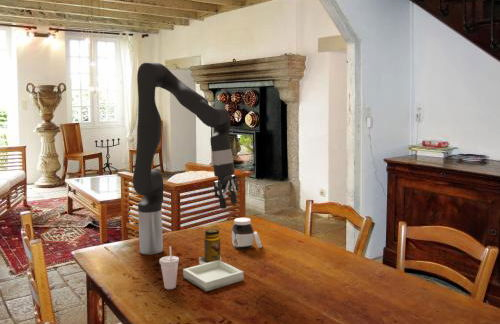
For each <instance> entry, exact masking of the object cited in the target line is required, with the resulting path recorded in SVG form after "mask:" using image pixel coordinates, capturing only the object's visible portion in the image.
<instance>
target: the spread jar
mask: <svg viewBox="0 0 500 324" xmlns="http://www.w3.org/2000/svg"><path fill="white" fill-rule="evenodd" d="M233 220H234V221H233V223H234V224H232V228H231V242H232V245H233V247H234V248H235V249H236V250H249V249H251V248H252V247H253V246H254V242H255V244H256V246H257V248H258V249H261V248H262V246H263V245H262V241H261V239H260V235H259V233H258V231H254V228H253V226H252V224H251V221H252V220H251V218H249V217H237V218H235V219H233Z"/></svg>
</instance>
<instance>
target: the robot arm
mask: <svg viewBox="0 0 500 324" xmlns="http://www.w3.org/2000/svg"><path fill="white" fill-rule="evenodd" d="M136 76H137V77H136V81H137V83H136V84H137V100H138V101H137V102H138V104H137V107H138V108H137V112H138V113H137V126H136V128H137V130H136V153H135V155H136V156H135V162H134V170H133V175H132V177H133V178H132V187H133V189H134V191H135V193H136V194H137V195H139V196H143V197H142V199H141V200H140V201H139V202H138V203H137V215H138V217H137V218H138V239H139V240H138V241H139V253H140V254H142V255H157V254H159V253H162V252H163V251H164V247H163V246H164V245H163V244H164V243H163V241H164V240H163V237H164V236H163V216H162V215H163V214H162V213H163V212H162V210H163V209H162V205H163V203H164V178H163V175H162V174H161V172H160V171H159V170H157V169H152V166H153V160H154V157H155V154H156V152H157V150H158V147H159V146H160V143H161V139H162V127H163V126H162V125H163V124H162V117H161V114H160V112H159V109H158V107H157V104H156V88H160V89H164V90H166V91H168V92H169V93H171V95H173V97H175V99H176V100H177V102H178V103H179V104H180V105H181V106H182V107H184V108H185V109H187V110H188V111H189V112H191V113H192V114H194V115H195V116H196V118H198V119H199V120H200V121H201V122H202V123H203V124H204V125H205V126H207V127H208V128H213V135H211V136H210V139H209V140H210V149H211V159H212V160H211V161H212V167H213V168H212V169H213V174H214V177H215V178H216V177H217V180H215V181H213V182H212V183H213V191H214V198H215V199H219V208H220V209H221V210H222V209H224V210H225V209H227V201H226V200H227V199H226V195H227V193H229V196H230V203H231V204H235V205H236V204H237V203H238V198H237V192H238V191H239V184H238V176H237V175H236V174H235V173H236V172H235V171H236V170H235V164H234V157H233V152H232V149H231V148H232V147H231V140H230V135H231V134H230V133H231V116H230V113H229V111H228V110H227V109H226V108H224V107H214V106H211V105H210V104H209V101H208V99H207V98H206V97H204V96H203V95H201V94H199V93H198V92H197V91H195V90H194V89H192V88H190V86H187V84H186V83H183V82H182V81H181V80H180V79H179V78H178V77H177V76H176V75H174V73H173V72H172V71H171V70H170V69H168V67H166V66H165V65H164V64H162V63H159V62H152V61H151V62H150V61H149V62H148V61H147V62H146V61H145V62H143V63H141V64H140V66H139V67H138V69H137V74H136Z"/></svg>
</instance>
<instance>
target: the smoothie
mask: <svg viewBox="0 0 500 324" xmlns="http://www.w3.org/2000/svg"><path fill="white" fill-rule="evenodd" d="M179 262H180V259H179V257H178V256H175V255H172V246H171V245H170V246H169V255H166V256H162V257H161V258H159V265H160V270H161V273H162V280H163V285H164V289H166V290H173V289H176V287H177V280H178V279H177V277H178V269H179V268H178V267H179Z"/></svg>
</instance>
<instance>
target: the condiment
mask: <svg viewBox="0 0 500 324" xmlns="http://www.w3.org/2000/svg"><path fill="white" fill-rule="evenodd" d="M204 233H205V234H204V239H203V240H204V241H203V242H204V246H203V247H204V256H198V263H199V264H198V265H201V264H205V263H209V262H213V261H216V260H221V261H222V257H221V237H220V230H219V229H217V228H207V229H206V230H205V231H204Z"/></svg>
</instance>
